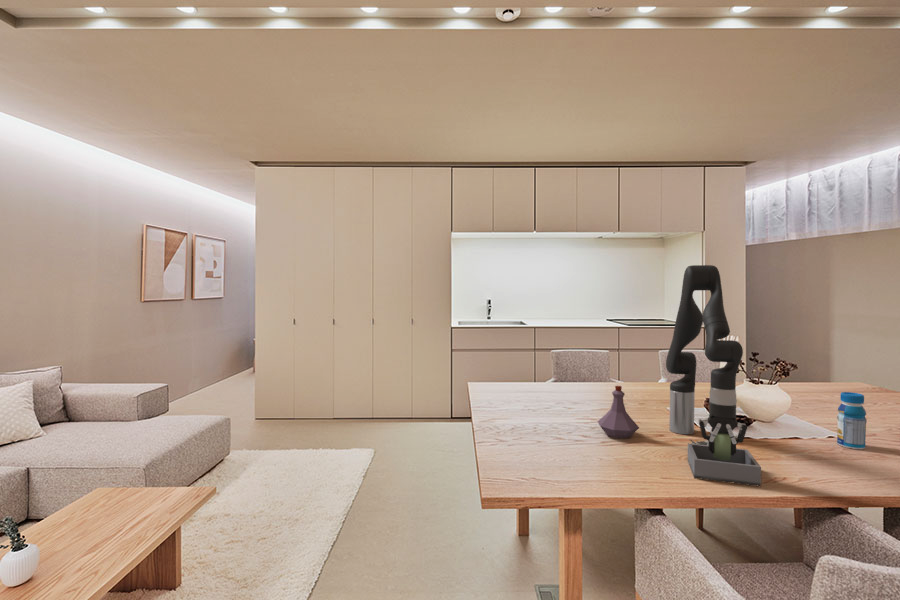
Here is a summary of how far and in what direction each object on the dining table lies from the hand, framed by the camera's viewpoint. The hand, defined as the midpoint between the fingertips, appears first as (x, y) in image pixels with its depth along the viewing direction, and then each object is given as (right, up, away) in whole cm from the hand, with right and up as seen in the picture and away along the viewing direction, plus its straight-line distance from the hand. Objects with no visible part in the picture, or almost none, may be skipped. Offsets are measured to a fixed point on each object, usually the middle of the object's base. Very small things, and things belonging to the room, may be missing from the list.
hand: (721, 453), depth 151 cm
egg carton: (+5, -6, +18) cm, 20 cm away
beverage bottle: (+63, -6, +25) cm, 68 cm away
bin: (0, -6, 0) cm, 6 cm away
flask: (-20, -5, +39) cm, 44 cm away
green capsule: (0, -1, 0) cm, 1 cm away
